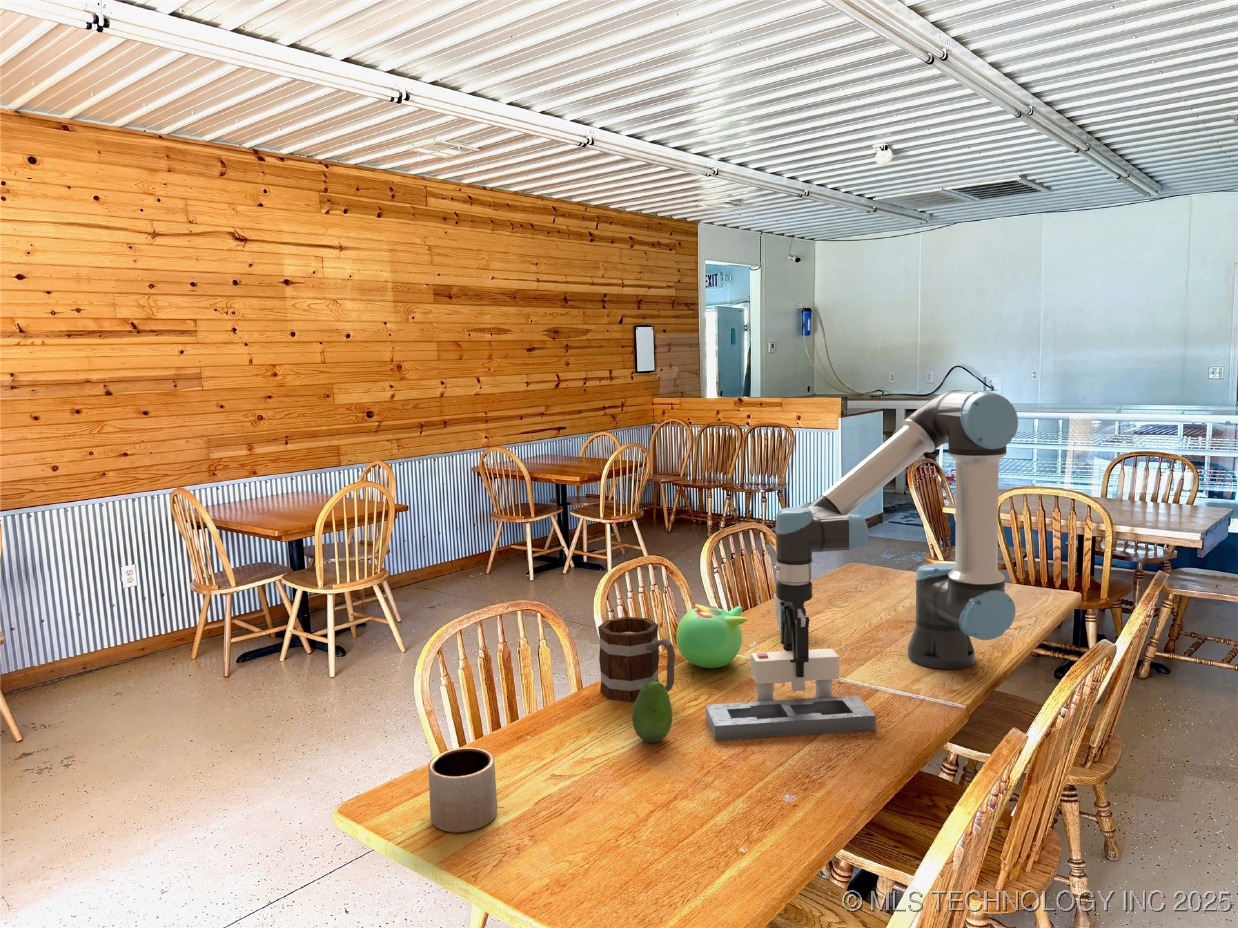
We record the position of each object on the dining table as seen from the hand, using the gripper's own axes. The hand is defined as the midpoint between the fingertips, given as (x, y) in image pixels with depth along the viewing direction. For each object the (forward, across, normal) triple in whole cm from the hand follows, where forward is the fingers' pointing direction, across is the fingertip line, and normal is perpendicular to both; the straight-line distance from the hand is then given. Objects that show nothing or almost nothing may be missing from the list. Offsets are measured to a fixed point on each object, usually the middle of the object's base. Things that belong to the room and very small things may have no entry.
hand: (794, 684), depth 181 cm
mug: (+3, -7, -33) cm, 34 cm away
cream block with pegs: (+3, 0, 0) cm, 3 cm away
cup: (+3, -42, +11) cm, 44 cm away
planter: (+3, +39, -67) cm, 78 cm away
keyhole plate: (+3, +13, -5) cm, 14 cm away
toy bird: (+3, -22, -14) cm, 26 cm away
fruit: (+3, +16, -33) cm, 37 cm away
